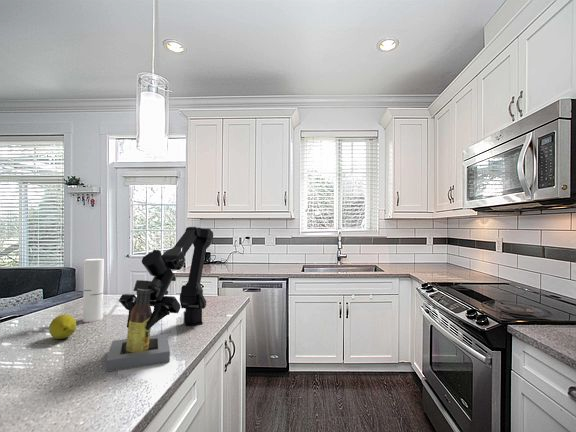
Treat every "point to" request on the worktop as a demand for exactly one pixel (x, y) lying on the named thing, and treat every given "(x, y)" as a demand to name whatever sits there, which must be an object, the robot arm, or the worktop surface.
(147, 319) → the sauce bottle
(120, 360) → the socket frame
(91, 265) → the cylindrical container
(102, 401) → the worktop surface
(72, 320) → the lemon
